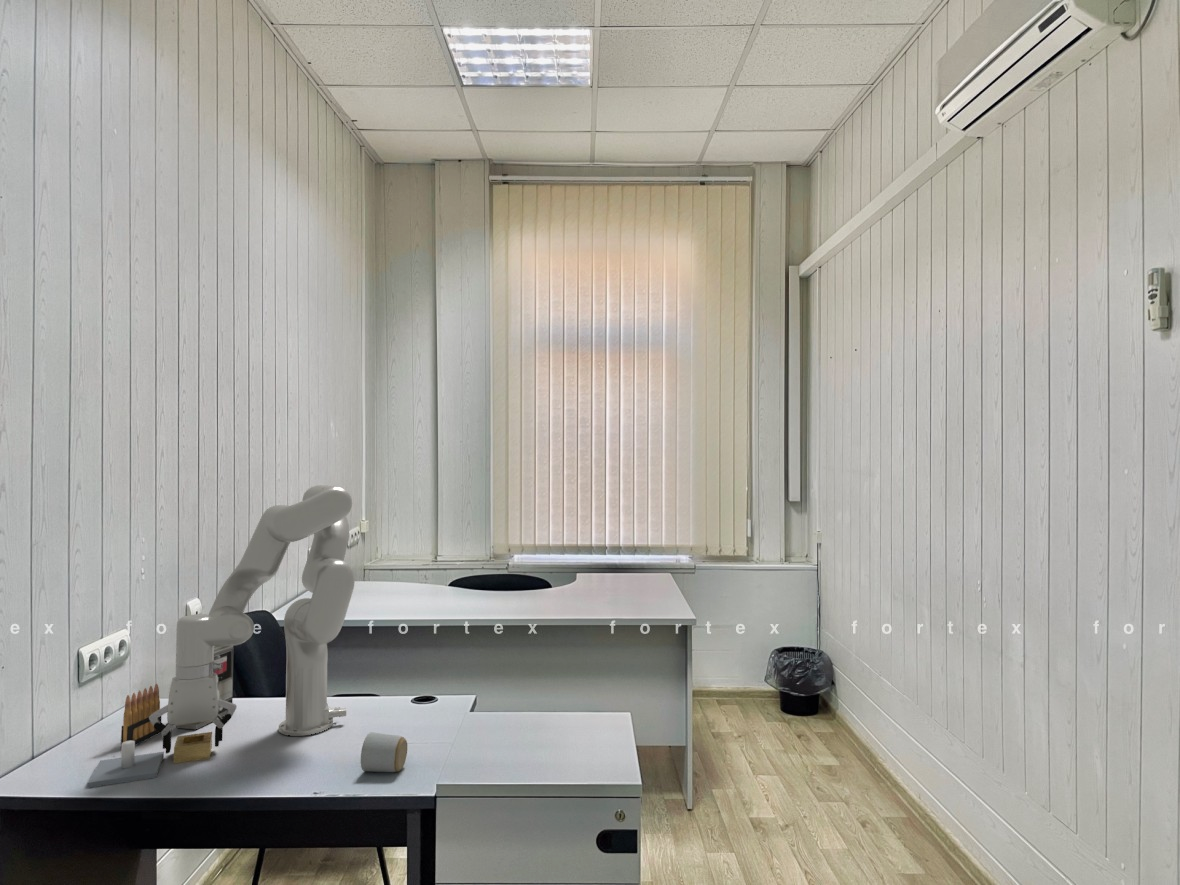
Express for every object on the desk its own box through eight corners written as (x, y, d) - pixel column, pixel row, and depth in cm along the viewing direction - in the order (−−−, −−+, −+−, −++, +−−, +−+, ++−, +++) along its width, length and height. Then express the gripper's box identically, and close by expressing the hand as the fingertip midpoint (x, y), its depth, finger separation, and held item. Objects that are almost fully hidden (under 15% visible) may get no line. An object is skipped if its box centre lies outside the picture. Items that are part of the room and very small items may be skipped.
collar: (212, 747, 168) (212, 731, 168) (209, 758, 161) (210, 742, 161) (177, 751, 165) (177, 736, 165) (173, 763, 158) (174, 747, 158)
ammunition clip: (127, 749, 166) (128, 696, 167) (120, 748, 167) (121, 696, 167) (161, 732, 177) (162, 682, 177) (155, 731, 177) (155, 682, 177)
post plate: (163, 756, 162) (164, 729, 162) (156, 777, 151) (156, 748, 152) (100, 765, 157) (100, 737, 158) (87, 787, 146) (88, 757, 147)
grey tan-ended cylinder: (397, 778, 151) (398, 740, 151) (359, 777, 152) (360, 739, 152) (413, 758, 162) (413, 723, 162) (377, 757, 162) (378, 722, 163)
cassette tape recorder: (197, 730, 178) (198, 628, 179) (175, 728, 179) (177, 626, 180) (235, 711, 191) (237, 616, 192) (215, 710, 193) (216, 615, 193)
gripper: (237, 662, 170) (236, 736, 170) (152, 670, 163) (150, 747, 163) (236, 671, 164) (235, 747, 163) (147, 679, 156) (145, 760, 156)
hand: (192, 747), depth 163 cm, fingers open, 9 cm apart
